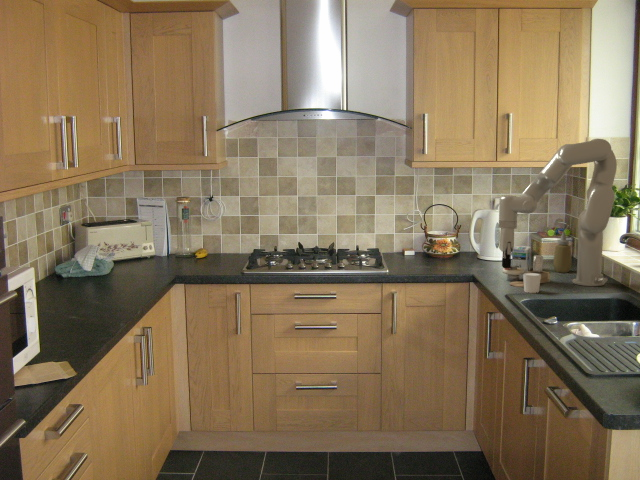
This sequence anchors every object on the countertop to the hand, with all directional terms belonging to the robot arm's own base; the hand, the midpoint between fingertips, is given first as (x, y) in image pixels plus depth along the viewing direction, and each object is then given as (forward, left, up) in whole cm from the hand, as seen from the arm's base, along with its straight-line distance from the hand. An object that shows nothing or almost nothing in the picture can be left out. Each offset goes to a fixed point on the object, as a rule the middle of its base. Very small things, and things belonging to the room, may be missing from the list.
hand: (506, 266), depth 307 cm
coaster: (-10, 0, -6) cm, 11 cm away
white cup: (-21, +5, -6) cm, 22 cm away
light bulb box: (+14, -23, -6) cm, 27 cm away
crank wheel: (-1, -4, -3) cm, 5 cm away
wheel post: (-1, -4, -6) cm, 7 cm away
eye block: (-8, -11, -6) cm, 14 cm away
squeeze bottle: (+2, -36, -6) cm, 36 cm away
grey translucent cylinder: (-8, -11, -6) cm, 14 cm away
